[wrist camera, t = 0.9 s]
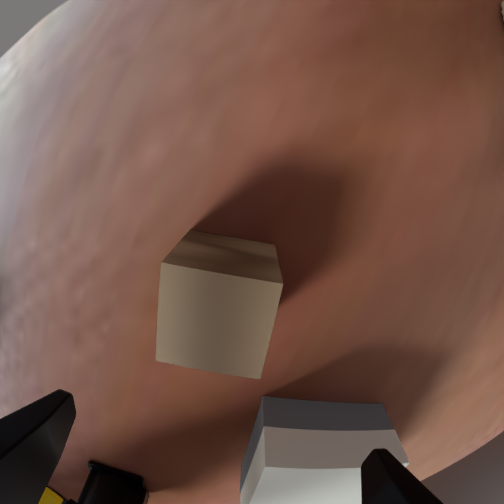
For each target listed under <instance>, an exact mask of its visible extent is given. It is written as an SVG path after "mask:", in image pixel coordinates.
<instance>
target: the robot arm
mask: <svg viewBox="0 0 504 504" xmlns="http://www.w3.org/2000/svg"><path fill="white" fill-rule="evenodd" d="M75 417H76V409H75V404H74V399H73V395H72V394H71V393H69V392H67V391H64V390H62V389H59V390H56V391H54V392H52V393H51V394H49V395H47V396H45V397H43V398H41V399H39V400H37V401H35V402H33V403H31V404H29V405H27V406H25V407H23V408H21V409H19V410H17V411H15V412H13V413H11V414H9V415H7V416H5V417H3V418H1V419H0V504H38V503H39V501H40V499H41V497H42V495H43V493H44V491H45V488H46V486H47V484H48V482H49V480H50V478H51V476H52V474H53V472H54V470H55V468H56V466H57V464H58V462H59V460H60V458H61V455H62V453H63V450H64V447H65V444H66V441H67V439H68V436H69V433H70V431H71V428H72V425H73V423H74V420H75ZM88 467H89V469H90V473H89V476H88V478H87V480H86V483H85V485H84V487H83V489H82V492H81V494H80V496H79V499H78V501H77V503H76V502H75V501H74V500H72V499H70V501H67V500H63V502H62V504H147V502H148V493H147V490H146V489H145V488H144V481H143V478H141V477H139V476H136V475H133V474H129V473H126V472H122V471H119V470H116V469H113V468H110V467H107V466H104V465H101V464H98V463H95V462H93V461H89V462H88ZM361 498H362V504H443V503H442V502H441V501H440V500H439V499H438V498H437V497H436V496H435V495H434V494H432V492H431V491H429V490H428V489H427V488H426V487H425V486H424V485H423V484H422V483H421V482H420V481H419V480H418V479H417V478H416V477H415V476H414V475H413V474H412V473H411V472H410V471H409V470H408V469H407V468H406V467H405V466H404V465H402V464H401V463H400V462H399V461H398V460H397V459H396V458H395V457H394V456H393V455H392V454H391V453H390V452H389V451H388V450H387V449H385V448H376V449H373V450H372V451H371V452H370V454H369V455H368V456H367V458H366V459H365V460H364V461H363V463H362V465H361Z"/></svg>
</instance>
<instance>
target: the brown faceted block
mask: <svg viewBox="0 0 504 504" xmlns="http://www.w3.org/2000/svg"><path fill="white" fill-rule="evenodd" d="M282 287H283V280H282V275H281V271H280V266H279V261H278V256H277V252H276V247H275V245H273V244H268V243H262V242H256V241H251V240H245V239H239V238H234V237H228V236H222V235H216V234H211V233H205V232H199V231H193V230H189V232H188V233H187V234H186V235H185V236H184V237H183V238H182V239H181V241H180V242H179V243H178V244H177V245H176V246H175V247H174V248H173V250H172V251H171V252H170V253H169V254H168V255H167V256H166V258H165V259H164V260H163V261H162V262H161V272H160V285H159V300H158V318H157V341H156V361H160V362H164V363H169V364H174V365H178V366H183V367H188V368H193V369H198V370H204V371H209V372H215V373H221V374H227V375H233V376H239V377H246V378H253V379H260V378H261V374H262V370H263V366H264V362H265V358H266V354H267V350H268V346H269V342H270V338H271V334H272V330H273V326H274V321H275V317H276V313H277V309H278V305H279V300H280V296H281V292H282Z"/></svg>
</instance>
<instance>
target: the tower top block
mask: <svg viewBox="0 0 504 504" xmlns="http://www.w3.org/2000/svg"><path fill="white" fill-rule="evenodd" d="M376 448H385V449H387V450H388V451H389V452H390V453H391V454H392V455H393V456H394V457H395V458H396V459H397V460H398V461H399V462H400V463H401V464H402V465H404V466H405V467H406V466H407V465H408V464H409V461H408V459H407V456H406V454H405V451H404V449H403V447H402V444H401V442H400V440H399V437H398V435H397V433H396V430H395V429H393V430H369V431H330V430H305V429H289V428H277V427H267V426H264V429H263V432H262V435H261V437H260V440H259V443H258V446H257V449H256V452H255V455H254V458H253V461H252V464H251V466H250V469H249V472H248V475H247V477H246V480H245V483H244V486H243V488H242V491H241V501H240V504H362V498H361V465H362V463H363V461H364V460H365V459H366V458H367V456H368V455H369V454H370V452H371V451H372V450H373V449H376Z"/></svg>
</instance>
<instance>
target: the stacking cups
mask: <svg viewBox="0 0 504 504" xmlns="http://www.w3.org/2000/svg"><path fill="white" fill-rule="evenodd" d="M63 500H64V499H63V498H61V497H60V496H59V495H58V494H56V493H55V492H54V491H52V490H51V489H50V488H48V487H47V486H46V488H45V491H44V493H43V495H42V497H41V499H40V501H39V503H38V504H62V502H63Z"/></svg>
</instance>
